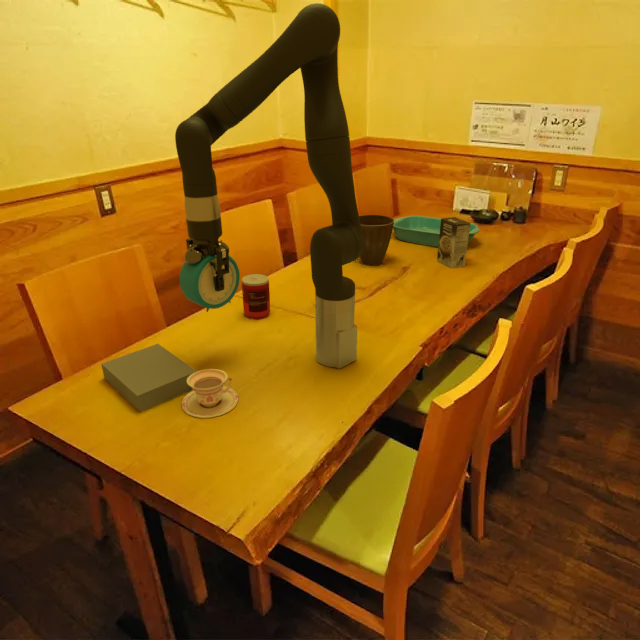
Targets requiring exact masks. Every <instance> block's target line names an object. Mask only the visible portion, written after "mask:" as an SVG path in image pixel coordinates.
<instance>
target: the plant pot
mask: <svg viewBox="0 0 640 640" xmlns="http://www.w3.org/2000/svg"><path fill="white" fill-rule="evenodd" d="M359 218H360V223H361V229H362V234H363V251H362V254H361V255H360V257H359V259H360V261H361V263H362V264H363V265H366V266H370V267H371V266H372V267H373V266H379V265H381V264H382V263H383V261H384V258H385V256H386V254H387V251H388V248H389V245H390V241H391V238H392V234H393V231H394V230H393V225H394V218H393V217H390V216H388V215H387V216H386V215H382V214H381V215H380V214H365V215H363V214H362V215H359Z"/></svg>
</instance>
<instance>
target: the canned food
mask: <svg viewBox="0 0 640 640" xmlns="http://www.w3.org/2000/svg"><path fill="white" fill-rule="evenodd" d="M241 293H242V302H243V304H242V305H243V314H244V316H245V317H246V318H248V319H252V320H261V319H265V318H267V317H269V316H270V314H271V296H270V294H271V293H270V280H269V276H267V275H265V274H260V273H256V274H255V273H252V274H247V275H244V276H243V277H242V278H241Z"/></svg>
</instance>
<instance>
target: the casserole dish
mask: <svg viewBox="0 0 640 640" xmlns="http://www.w3.org/2000/svg"><path fill="white" fill-rule="evenodd" d="M393 219H394V218H393ZM441 219H442V218H439V217H433V216H425V215H408V216H407V215H406V216H403V217H397V218H395V219H394V225H393V230H392V231H393V233H394V236H395V237H396V239H398V240H400V241H402V242H407V243H412V244H417V245H421V246H428V247H433V248H434V247H435V248H438V245H439V235H440V225H441ZM470 223H471V224H470V231H469V238H468V244H469V243H470V242H472V240H473V239H474V237H475V235H476V234H478V233H479V232H480V228H479V226H478V225H477V224H475V223H472V222H470Z"/></svg>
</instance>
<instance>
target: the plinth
mask: <svg viewBox="0 0 640 640" xmlns="http://www.w3.org/2000/svg"><path fill="white" fill-rule="evenodd" d="M100 365H101V369H102V373H103V377H104V378H103V379H104V380H105V381H106V382H107V383H109V384H110V385H111V387H113V388H114V389H115V390H116V391H117V392H118V393H119V394H120V395H121V396H122V397H123V398H124V399H126V400H127V401H128V402H129V403H130V404H131V405H132V406H133V407H134V408H135V409H136V410H137V411H139V412H140V413H142V412H144V411H146V410H148V409H152V408H153V407H156V406H157V405H160V404H162V403H164V402H166V401H169V400H172V399H174V398H176V397H178V396H181V395H183V394H185V393H187V392H188V393H189V391H190V392H191V391H193V389H192V388H191V387H190V386H189V385H188V384H187V378H188V377H189V376H190V375H191V374H193V373H195V372H197V371H198V370H196V369H194V368H193V367H192V366H190V365H189V364H188V363H186V362H185V361H183V360H182V359H181V358H179V357H178V356H177V355H175V354H174V353H172V352H170V351H169V350H168V349H166V348H165V347H164V346H163V345H161V344H159V343H156V344H153V345H150V346H147V347H145V348H142V349H139V350H136V351H133V352H130V353H127V354H124V355H122V356H119V357H115V358H113V359H111V360H108V361H106V362H102V363H101V364H100Z"/></svg>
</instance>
